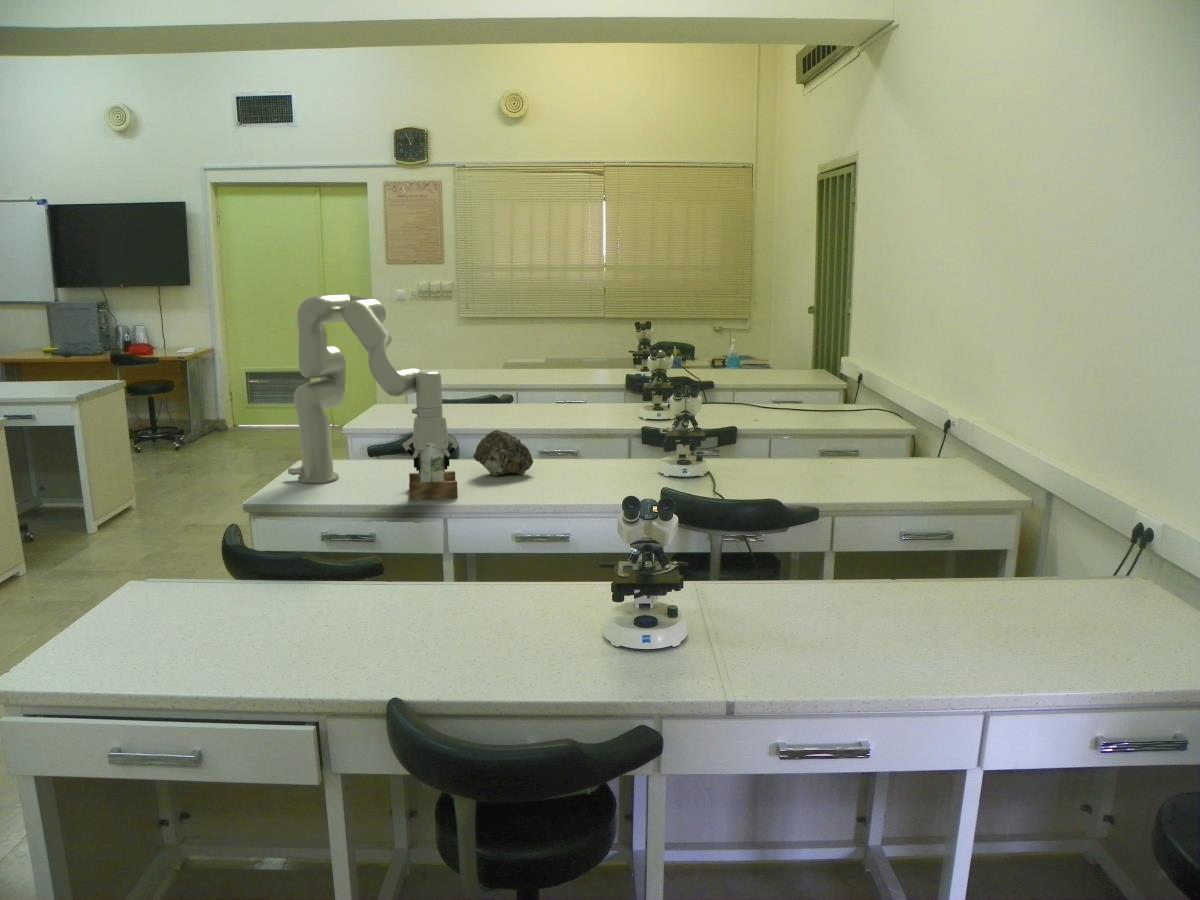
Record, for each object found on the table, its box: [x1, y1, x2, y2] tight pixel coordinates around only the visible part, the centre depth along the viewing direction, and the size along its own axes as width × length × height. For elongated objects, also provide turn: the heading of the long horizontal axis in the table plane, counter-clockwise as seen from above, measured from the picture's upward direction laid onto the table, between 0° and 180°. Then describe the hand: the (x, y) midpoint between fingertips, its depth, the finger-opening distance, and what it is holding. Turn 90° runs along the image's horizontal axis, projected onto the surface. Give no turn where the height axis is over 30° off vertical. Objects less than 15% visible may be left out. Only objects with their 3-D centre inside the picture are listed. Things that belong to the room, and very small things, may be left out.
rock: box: [472, 429, 534, 476], centre depth 301 cm, size 18×14×15 cm
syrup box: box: [417, 442, 446, 483], centre depth 275 cm, size 6×6×14 cm
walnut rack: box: [408, 470, 459, 501], centre depth 276 cm, size 14×14×5 cm
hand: (431, 469), depth 275 cm, fingers closed on syrup box, 8 cm apart
